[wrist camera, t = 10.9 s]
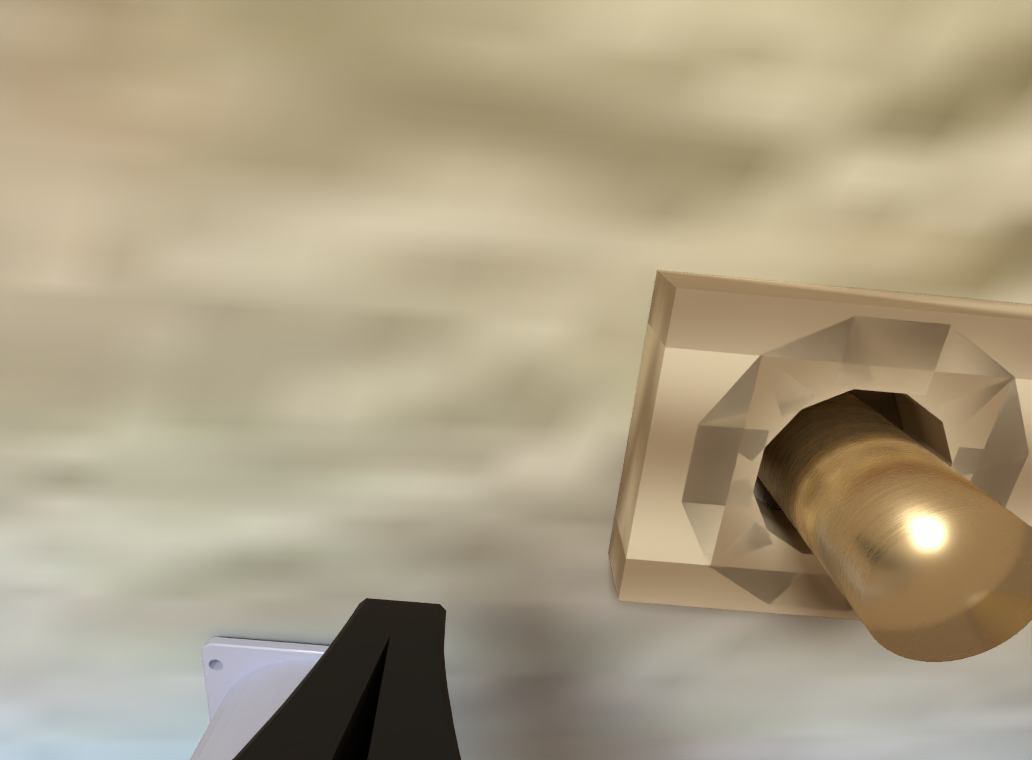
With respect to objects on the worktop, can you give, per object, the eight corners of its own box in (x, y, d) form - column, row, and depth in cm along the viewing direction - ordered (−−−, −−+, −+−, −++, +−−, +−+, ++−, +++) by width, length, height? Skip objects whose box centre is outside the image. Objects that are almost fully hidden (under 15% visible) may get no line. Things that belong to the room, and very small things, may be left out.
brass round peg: (855, 501, 20) (1013, 668, 14) (738, 493, 20) (840, 655, 14) (891, 392, 19) (1084, 519, 12) (765, 382, 19) (894, 505, 12)
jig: (943, 580, 21) (991, 630, 19) (608, 552, 21) (618, 600, 19) (1058, 307, 18) (1134, 329, 16) (657, 270, 18) (676, 288, 15)
